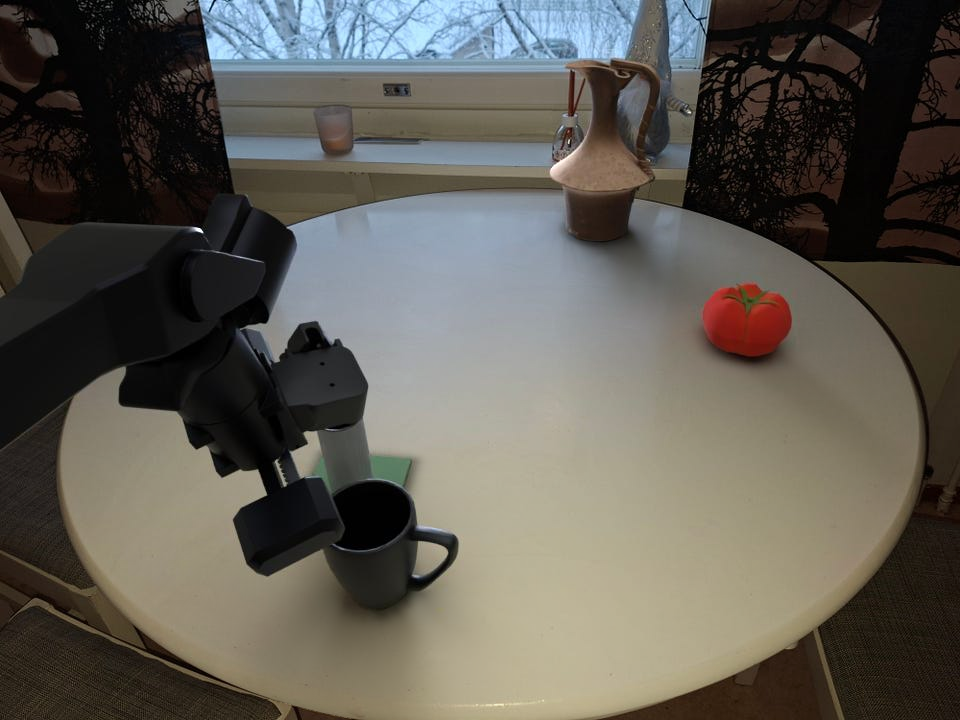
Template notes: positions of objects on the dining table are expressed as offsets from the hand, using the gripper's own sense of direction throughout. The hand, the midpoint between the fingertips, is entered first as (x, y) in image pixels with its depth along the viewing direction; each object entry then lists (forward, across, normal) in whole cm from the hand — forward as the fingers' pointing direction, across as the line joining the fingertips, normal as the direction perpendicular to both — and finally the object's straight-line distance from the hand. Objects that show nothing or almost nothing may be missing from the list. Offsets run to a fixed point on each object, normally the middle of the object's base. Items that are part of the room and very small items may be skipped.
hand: (293, 488), depth 55 cm
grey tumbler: (+15, +5, -4) cm, 17 cm away
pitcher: (+37, +42, -59) cm, 81 cm away
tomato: (+26, +5, -57) cm, 63 cm away
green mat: (+16, +6, -4) cm, 17 cm away
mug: (+12, -7, -4) cm, 15 cm away
